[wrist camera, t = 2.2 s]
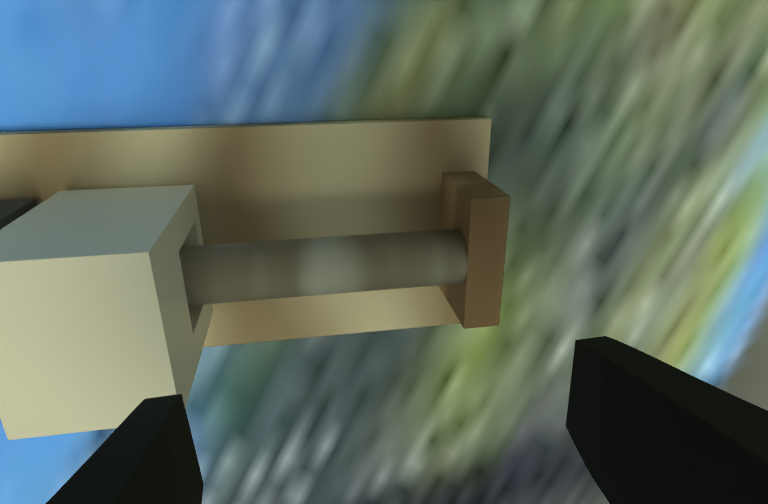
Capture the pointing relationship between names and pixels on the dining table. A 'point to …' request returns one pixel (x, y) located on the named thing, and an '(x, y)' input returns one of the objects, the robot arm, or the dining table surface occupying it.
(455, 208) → the pipe stand
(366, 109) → the dining table surface
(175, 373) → the pale sage cube
